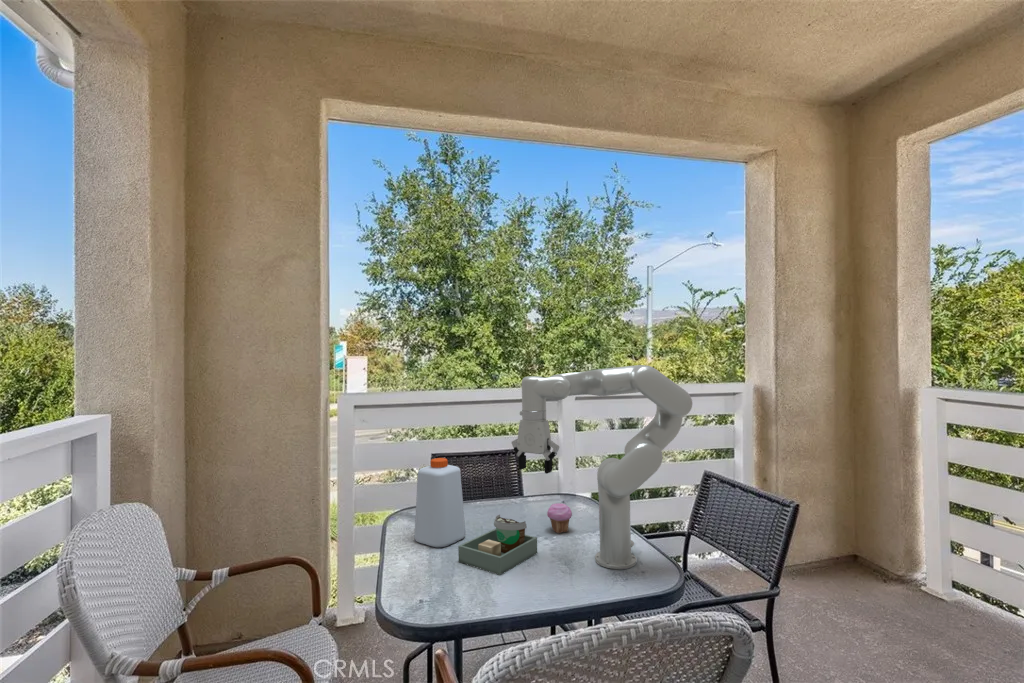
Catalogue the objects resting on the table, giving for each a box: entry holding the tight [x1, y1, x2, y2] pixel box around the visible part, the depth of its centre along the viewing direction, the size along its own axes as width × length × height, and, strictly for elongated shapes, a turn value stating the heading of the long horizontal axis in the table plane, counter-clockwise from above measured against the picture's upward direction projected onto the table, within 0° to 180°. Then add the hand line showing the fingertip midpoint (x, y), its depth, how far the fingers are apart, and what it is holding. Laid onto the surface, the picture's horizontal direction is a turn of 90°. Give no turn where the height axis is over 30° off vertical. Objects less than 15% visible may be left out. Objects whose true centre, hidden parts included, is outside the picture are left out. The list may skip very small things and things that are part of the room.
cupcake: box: [546, 503, 573, 534], centre depth 184 cm, size 9×9×10 cm
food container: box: [493, 514, 527, 553], centre depth 165 cm, size 12×6×10 cm, turn 49°
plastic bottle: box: [413, 457, 466, 548], centre depth 179 cm, size 15×15×28 cm
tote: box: [458, 527, 538, 576], centre depth 162 cm, size 20×17×5 cm
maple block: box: [478, 539, 501, 556], centre depth 158 cm, size 5×5×5 cm
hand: (535, 470), depth 158 cm, fingers open, 9 cm apart
